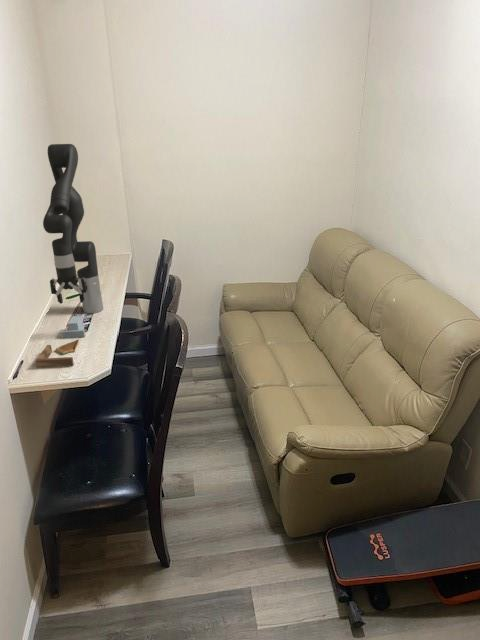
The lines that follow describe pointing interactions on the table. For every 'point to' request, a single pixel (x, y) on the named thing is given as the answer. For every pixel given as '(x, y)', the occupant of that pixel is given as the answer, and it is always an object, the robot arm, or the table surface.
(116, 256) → the table surface
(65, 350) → the shard
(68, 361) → the corner fence
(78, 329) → the grey inverted t block
